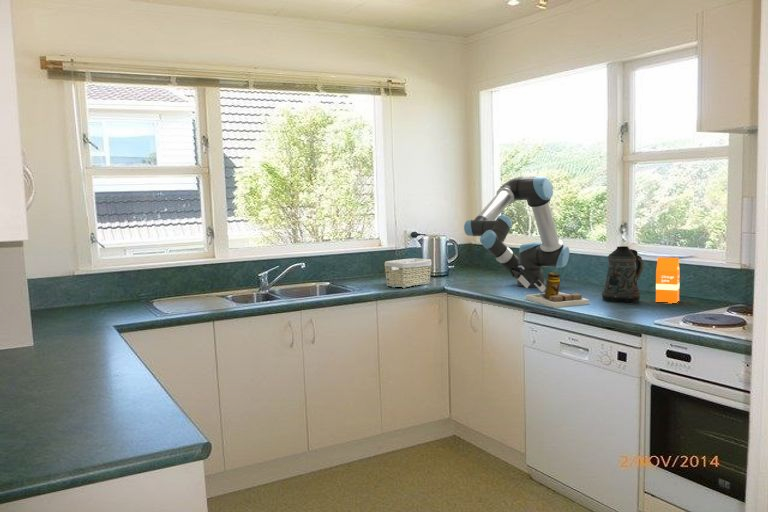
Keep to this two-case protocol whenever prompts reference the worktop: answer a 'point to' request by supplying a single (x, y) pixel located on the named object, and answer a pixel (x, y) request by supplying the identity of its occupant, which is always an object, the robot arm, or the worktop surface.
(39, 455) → the worktop surface
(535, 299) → the tray
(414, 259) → the storage basket
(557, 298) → the block
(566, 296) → the block
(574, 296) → the block
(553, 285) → the condiment
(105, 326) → the worktop surface
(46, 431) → the worktop surface
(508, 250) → the robot arm
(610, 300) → the beer stein
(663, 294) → the orange juice
